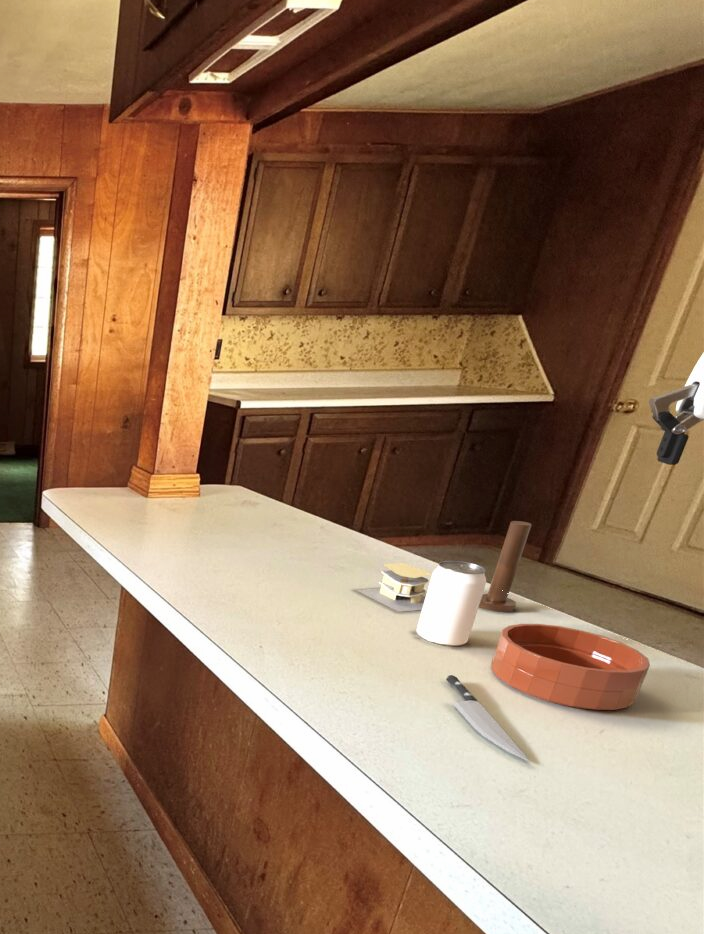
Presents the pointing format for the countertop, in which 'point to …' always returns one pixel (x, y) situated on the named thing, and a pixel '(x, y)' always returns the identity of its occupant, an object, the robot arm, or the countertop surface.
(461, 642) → the can
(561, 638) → the bowl
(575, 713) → the countertop surface
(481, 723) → the chef's knife
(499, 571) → the brown post with base
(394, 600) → the stacked layers on plate
